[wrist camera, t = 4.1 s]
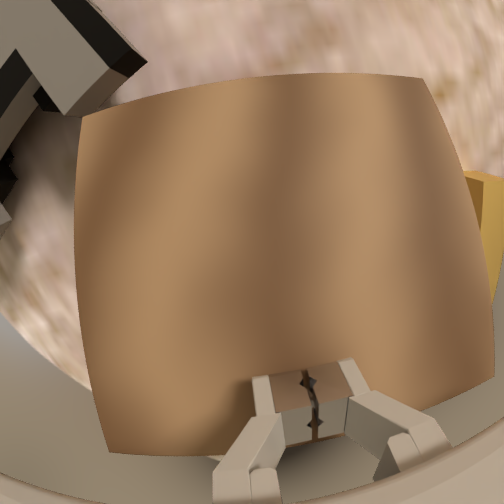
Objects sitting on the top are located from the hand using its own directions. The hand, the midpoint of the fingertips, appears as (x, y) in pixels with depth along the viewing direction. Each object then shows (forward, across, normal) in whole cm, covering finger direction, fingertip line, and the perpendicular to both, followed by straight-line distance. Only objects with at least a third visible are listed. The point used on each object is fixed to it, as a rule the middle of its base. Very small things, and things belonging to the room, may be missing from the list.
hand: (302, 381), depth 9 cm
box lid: (+4, -1, -3) cm, 5 cm away
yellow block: (+15, -20, +2) cm, 25 cm away
